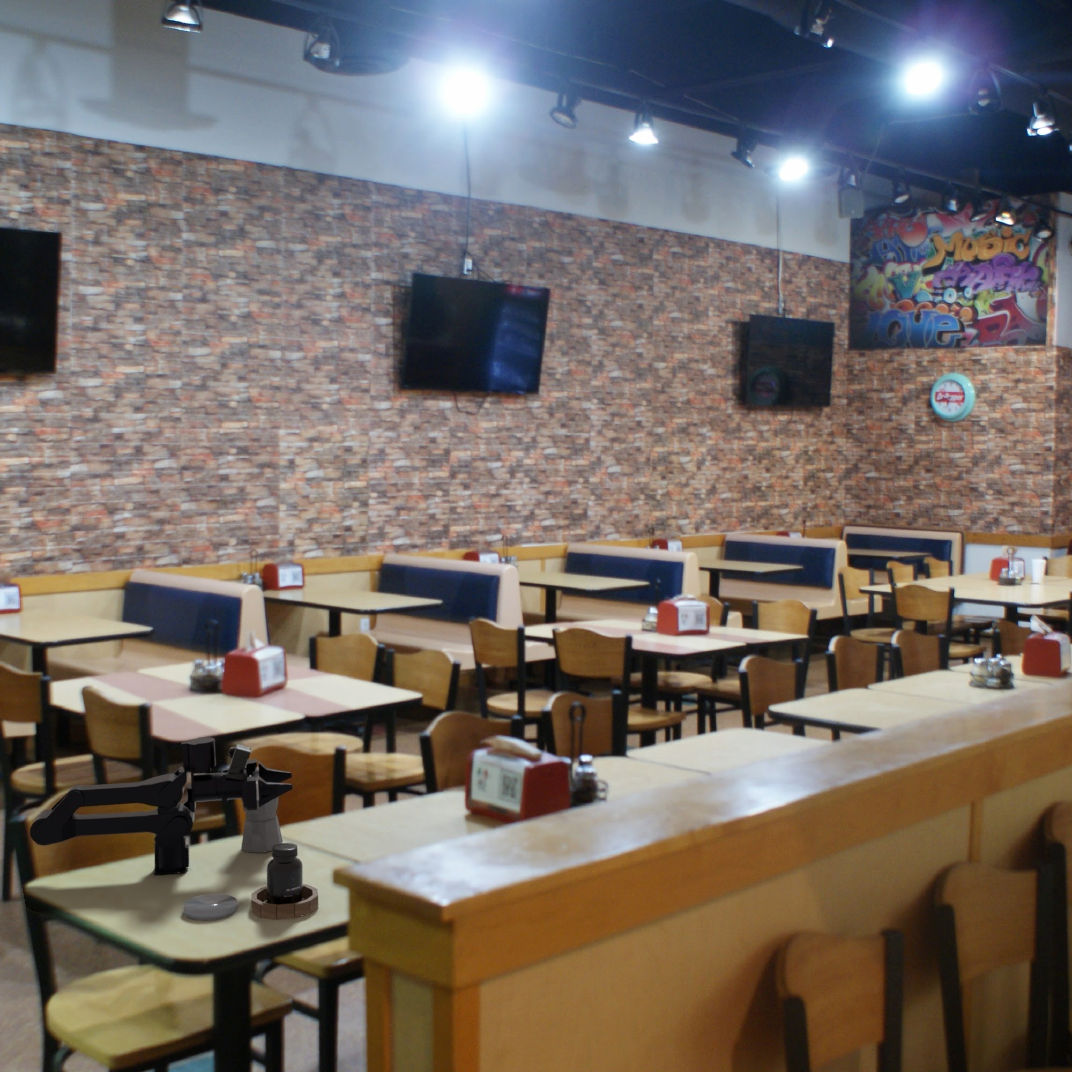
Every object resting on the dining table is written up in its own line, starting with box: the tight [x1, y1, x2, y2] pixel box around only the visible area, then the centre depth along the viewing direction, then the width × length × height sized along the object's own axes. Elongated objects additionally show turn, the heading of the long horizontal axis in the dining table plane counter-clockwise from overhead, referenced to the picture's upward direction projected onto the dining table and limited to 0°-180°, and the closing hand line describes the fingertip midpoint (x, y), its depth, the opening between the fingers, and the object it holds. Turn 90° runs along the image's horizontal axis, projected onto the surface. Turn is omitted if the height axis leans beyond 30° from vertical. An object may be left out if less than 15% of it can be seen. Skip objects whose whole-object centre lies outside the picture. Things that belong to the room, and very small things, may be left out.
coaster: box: [182, 893, 238, 921], centre depth 240 cm, size 10×10×2 cm
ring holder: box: [250, 883, 319, 920], centre depth 242 cm, size 13×13×2 cm
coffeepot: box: [241, 796, 284, 854], centre depth 279 cm, size 15×9×18 cm, turn 26°
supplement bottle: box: [266, 842, 304, 905], centre depth 242 cm, size 7×7×12 cm
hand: (292, 780), depth 268 cm, fingers open, 9 cm apart
